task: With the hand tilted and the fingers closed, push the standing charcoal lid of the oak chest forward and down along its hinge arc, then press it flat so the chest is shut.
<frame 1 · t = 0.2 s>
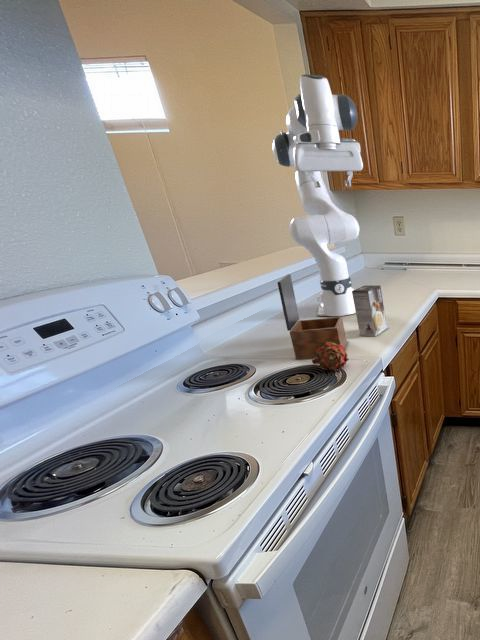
hand: (333, 187, 133), 48 cm above the countertop, tool pointing down, fingers open, 8 cm apart
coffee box: (373, 332, 150), on the countertop
chest: (322, 350, 134), on the countertop
lid: (289, 301, 126), point 16 cm above the countertop, hinge at 88.0°
dragon fruit: (333, 369, 120), on the countertop
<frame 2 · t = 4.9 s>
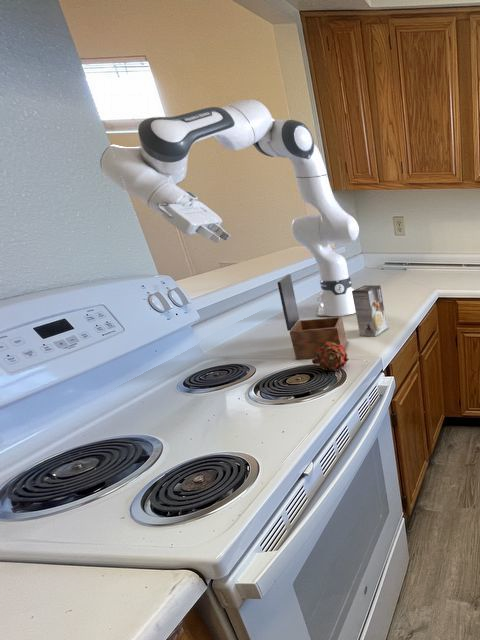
hand: (223, 239, 116), 35 cm above the countertop, tool tilted 45°, fingers open, 5 cm apart
nothing on the countertop moved.
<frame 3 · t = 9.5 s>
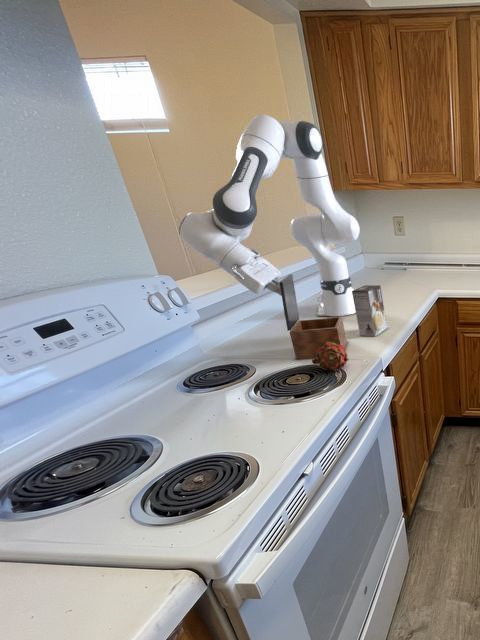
hand: (285, 293, 125), 19 cm above the countertop, tool tilted 45°, fingers closed, pressing on lid
lid: (290, 301, 127), point 16 cm above the countertop, hinge at 85.8°, touching gripper
everything else where it was.
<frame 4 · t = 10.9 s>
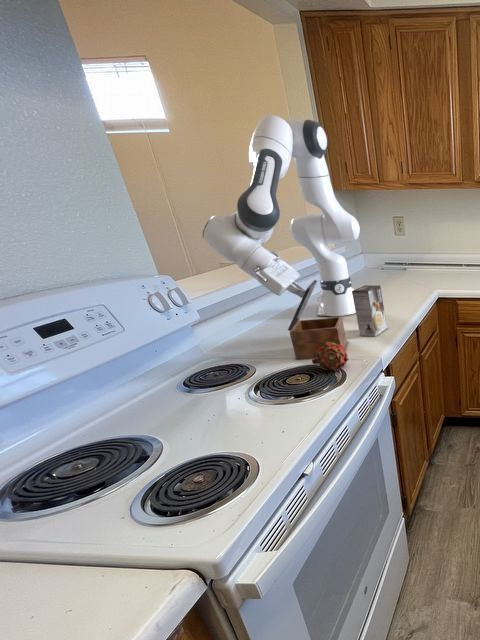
hand: (304, 295, 127), 18 cm above the countertop, tool tilted 45°, fingers closed, pressing on lid
lid: (302, 304, 128), point 15 cm above the countertop, hinge at 56.4°, touching gripper
everything else where it was.
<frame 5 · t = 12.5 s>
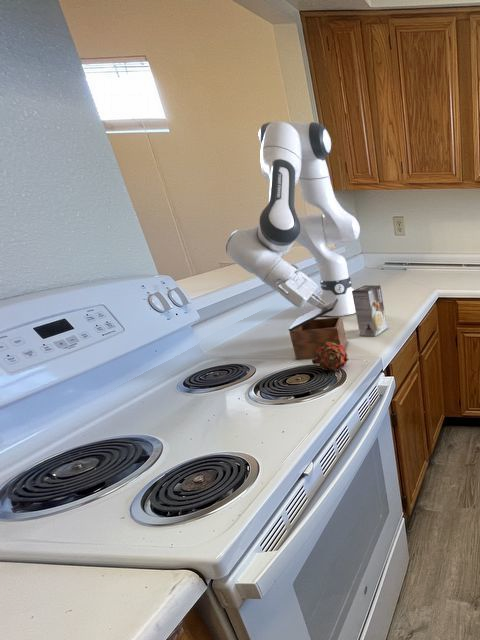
hand: (323, 306, 129), 14 cm above the countertop, tool tilted 45°, fingers closed
lid: (314, 314, 130), point 12 cm above the countertop, hinge at 22.3°, touching gripper
everything else where it was.
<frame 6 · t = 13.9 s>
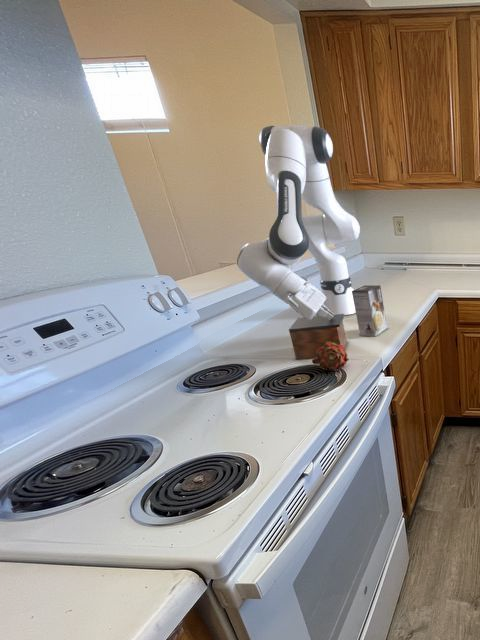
hand: (332, 317, 131), 10 cm above the countertop, tool tilted 45°, fingers closed, pressing on lid
lid: (318, 322, 131), point 9 cm above the countertop, hinge at 0.5°, touching gripper
everything else where it was.
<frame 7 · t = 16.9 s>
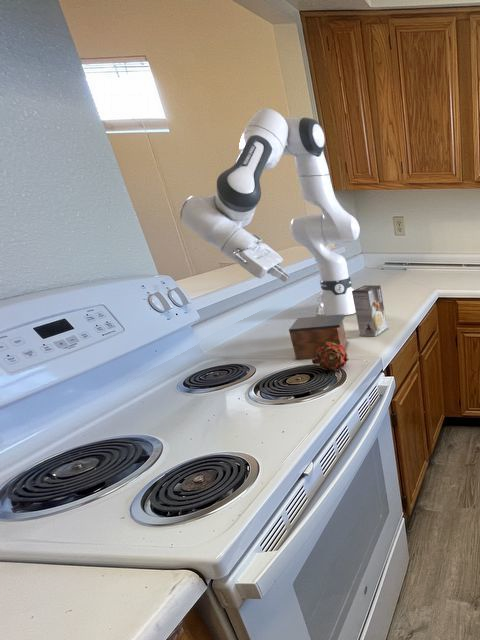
hand: (287, 279, 124), 23 cm above the countertop, tool tilted 45°, fingers closed
lid: (318, 322, 131), point 9 cm above the countertop, hinge at -0.2°, touching chest
everything else where it was.
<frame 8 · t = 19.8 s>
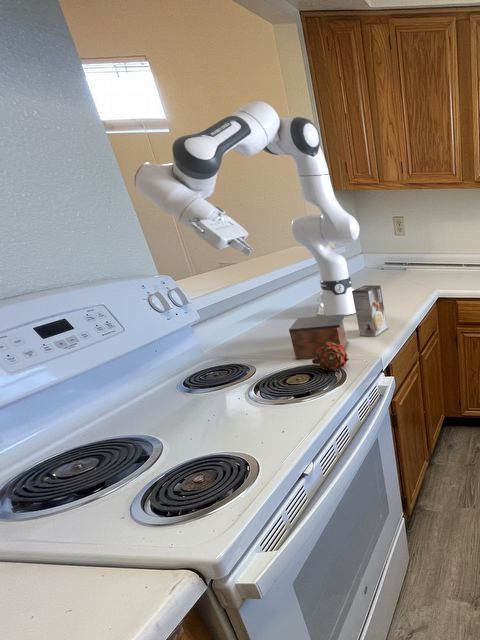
hand: (251, 252, 119), 31 cm above the countertop, tool tilted 45°, fingers closed
nothing on the countertop moved.
at the end: lid at +0° (first picture: +88°); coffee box moved 0.2 cm from its start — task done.
